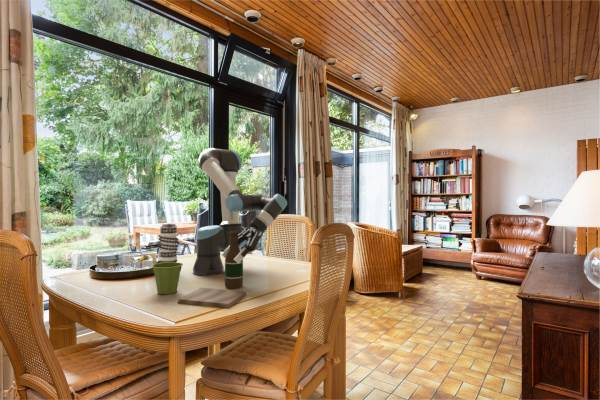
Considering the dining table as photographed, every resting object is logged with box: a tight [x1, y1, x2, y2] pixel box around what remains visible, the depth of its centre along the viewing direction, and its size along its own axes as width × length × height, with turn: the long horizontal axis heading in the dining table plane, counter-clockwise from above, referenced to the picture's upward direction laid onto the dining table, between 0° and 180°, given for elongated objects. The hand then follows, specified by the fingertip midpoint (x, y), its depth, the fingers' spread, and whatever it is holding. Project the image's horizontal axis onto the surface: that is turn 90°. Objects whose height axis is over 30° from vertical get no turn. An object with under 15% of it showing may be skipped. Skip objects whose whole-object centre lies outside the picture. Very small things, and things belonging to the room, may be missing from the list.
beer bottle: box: [224, 231, 244, 290], centre depth 146 cm, size 8×8×24 cm
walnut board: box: [177, 287, 247, 309], centre depth 129 cm, size 20×16×2 cm
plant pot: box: [151, 261, 184, 296], centre depth 137 cm, size 12×12×11 cm
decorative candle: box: [158, 222, 179, 263], centre depth 169 cm, size 9×9×25 cm
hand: (229, 259), depth 145 cm, fingers open, 13 cm apart
